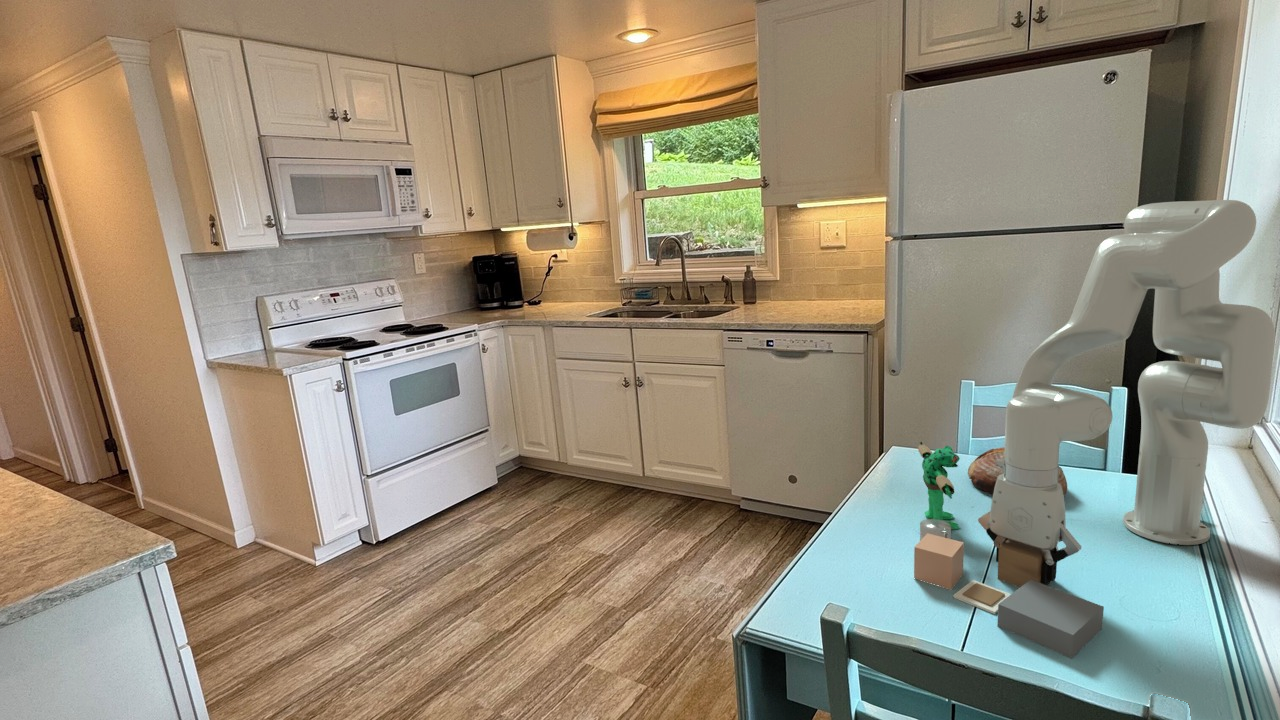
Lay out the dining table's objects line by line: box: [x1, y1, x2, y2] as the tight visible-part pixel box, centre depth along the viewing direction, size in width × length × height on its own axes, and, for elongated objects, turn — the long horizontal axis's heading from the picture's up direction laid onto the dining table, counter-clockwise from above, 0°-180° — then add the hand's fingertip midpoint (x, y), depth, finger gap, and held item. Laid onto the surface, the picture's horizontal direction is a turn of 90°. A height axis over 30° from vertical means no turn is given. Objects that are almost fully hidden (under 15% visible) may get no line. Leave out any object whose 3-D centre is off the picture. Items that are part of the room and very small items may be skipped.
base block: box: [996, 580, 1105, 659], centre depth 98 cm, size 10×10×4 cm
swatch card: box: [952, 579, 1012, 615], centre depth 106 cm, size 6×6×1 cm
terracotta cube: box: [913, 533, 965, 590], centre depth 113 cm, size 6×6×6 cm
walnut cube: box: [997, 539, 1045, 588], centre depth 110 cm, size 6×6×6 cm
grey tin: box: [919, 518, 952, 542], centre depth 119 cm, size 5×5×6 cm
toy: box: [917, 441, 961, 530], centre depth 131 cm, size 26×6×15 cm, turn 168°
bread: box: [967, 446, 1068, 496], centre depth 145 cm, size 16×20×10 cm
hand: (1024, 574), depth 111 cm, fingers closed on walnut cube, 6 cm apart
